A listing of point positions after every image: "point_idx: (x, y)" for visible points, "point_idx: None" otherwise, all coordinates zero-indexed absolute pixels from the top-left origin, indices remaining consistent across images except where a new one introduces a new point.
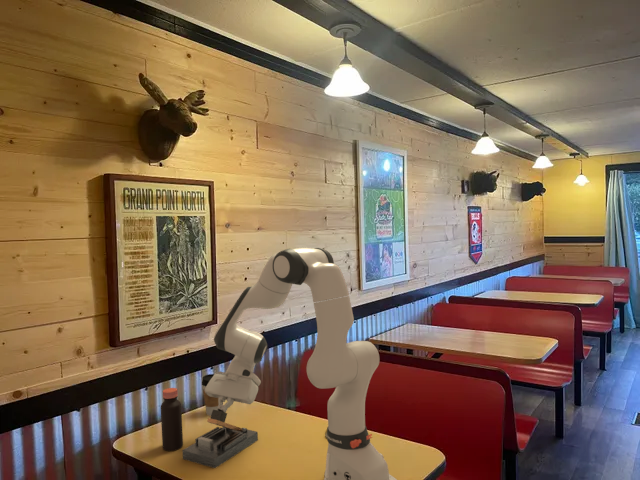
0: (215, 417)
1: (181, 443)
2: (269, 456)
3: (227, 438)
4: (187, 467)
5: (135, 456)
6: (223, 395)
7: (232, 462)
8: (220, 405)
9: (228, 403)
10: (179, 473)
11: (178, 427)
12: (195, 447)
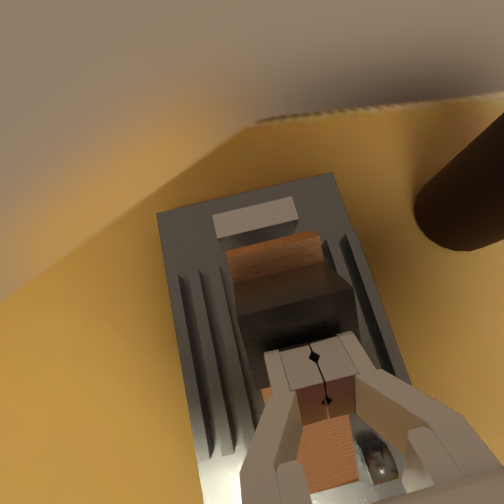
0: (280, 278)
1: (431, 227)
2: (51, 437)
3: (232, 341)
4: (254, 171)
5: (470, 99)
6: (416, 495)
7: (149, 295)
8: (338, 368)
9: (256, 445)
10: (239, 137)
11: (478, 175)
12: (312, 217)
